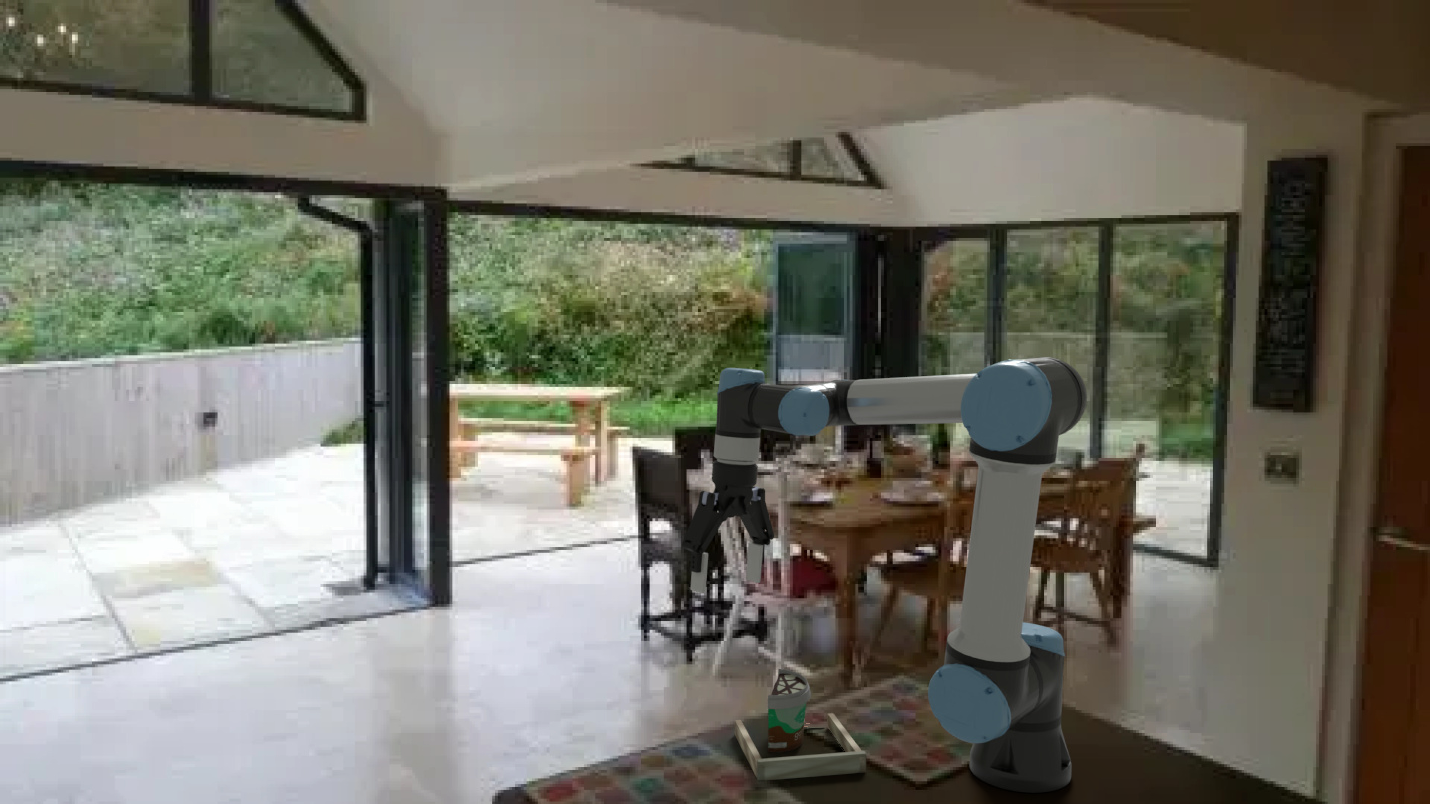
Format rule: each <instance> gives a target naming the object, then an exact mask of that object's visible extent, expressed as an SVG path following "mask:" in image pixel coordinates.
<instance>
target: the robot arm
mask: <svg viewBox="0 0 1430 804" xmlns="http://www.w3.org/2000/svg"><path fill="white" fill-rule="evenodd" d="M718 381H719V382H718V388H717V390H718V391H717V392H716V395H717V399H716V400H717V402H716V403H717V404H716V424H715V425H716V426H715V427H716V428H715V432H714V433H715V434H714V435H715V436H714V446H713V447H714V449H713V457H714V458H715V459H716V460H714V461H713V462H712V470H711V471H712V472H711V481H712V483H713V484H714V491H713V492H711V491H706V490H701V491H700V492H699V497H698V504H697V507H696V509H695V512H694V513H693V516H692V519H691V520H690V524H689V526H688V528H687V530H686V533H685V535H684V538H683V540H682V543H681V547H682V548H683V549H686V550H687V551H689V552H690V565H689V570H690V572H691V578H690V579H691V580H690V590H691V591H693V592H697V593H700V594H706V589H707V575H708V562H709V561H708V560H709V553H708V552H705V551H706V550H707V548H708V547H709V545H710V544H711V542H712V541H713V538H714V537H715V535H716V534H717V532H718V530H719V529H720V527H721V526H722V524H723V523H724V522H726V521H727V520H728V519H730V518H735V517H739V518H740V520H741V522H742V524H743V526H744V527H745V530H746V531H747V533H748V535H749V537H750V539H751V540H752V542H748V546H747V547H748V548H747V557H746V569H745V570H746V571H745V581H749V582H752V583H756V584H759V583H761V580H762V578H761V576H762V564H763V561H764V556H765V547H766V546H770V544H771V541H772V540H774V538H775V534H774V530H773V526H772V521H771V518H770V515H769V510H768V506H767V503H766V489H765V488H763V487H759V486H756V485H757V483H758V482H757V481H758V479H757V478H758V471H759V469H758V468H759V467H758V464H757V463H756V462H757V461H758V460H759V457H760V443H761V432H762V431H761V430H767V431H772V432H773V431H774V432H778V433H784V434H790V435H793V436H797V437H799V436H808V437H813V436H817V435H818V434H820V433H821V431H822V430H824V429H825V428H828V427H836V426H838V427H839V426H859V425H860V426H861V425H863V426H864V425H908V424H909V425H910V424H911V425H912V424H913V425H914V424H918V425H919V424H920V425H921V424H923V425H925V424H927V425H928V424H962V425H963V427H964V428H965V429H966V431H967V432H968V435H969V437H970V440H969V441H970V442H969V450H968V453H969V455H970V456H971V457H972V458H973V460H974V461H975V462H976V464H977V465H978V466H977V467H978V470H977V476H976V477H977V478H976V486H975V492H974V493H975V495H974V501H973V502H974V503H973V511H972V520H971V528H970V529H971V530H970V537H969V543H968V551H967V552H968V553H967V561H966V569H965V578H964V586H963V593H962V594H963V595H962V602H961V610H960V621H959V626H958V627H956V628H955V629H954V630H952V631H950V632H949V633H948V635H947V638H946V645H945V654H944V661H943V663H944V664H943V665H942V666H940V667H939V668H938V669H937V670H936V671H935V672H934V674H933V675H932V677H931V678H930V681H929V684H928V686H927V687H928V688H927V689H928V690H927V697H928V703H929V706H930V710H931V712H932V714H933V716H934V718H935V719H936V718H937V720H938V721H939V723H940V726H941V727H942V728H943V729H944V730H945V731H946V732H947V733H949V734H950V735H951V736H953V737H955V738H956V739H958V740H961V741H963V742H966V743H970V744H972V746H971V748H970V751H969V769H970V771H971V772H972V774H973V775H974V776H975V777H976V778H978V779H979V780H980V781H982V782H984V783H987V784H989V785H991V786H994V787H996V788H1000V789H1003V790H1007V791H1012V792H1019V793H1033V794H1034V793H1035V794H1036V793H1037V794H1039V793H1048V792H1054V791H1057V790H1061V789H1063V788H1064V787H1066V786H1067V785H1068V784H1069V783H1070V782H1071V779H1072V762H1071V761H1072V760H1071V757H1070V753H1069V750H1068V748H1067V747H1068V746H1067V744H1066V741H1065V737H1064V734H1063V730H1062V707H1063V705H1062V704H1063V687H1064V686H1063V685H1064V661H1065V657H1066V653H1065V650H1064V638H1063V636H1062V634H1061V633H1059V631H1057V630H1055V629H1052V628H1051V627H1047V626H1044V625H1041V624H1040V625H1039V624H1035V623H1030V622H1025V621H1024V618H1025V617H1024V616H1025V609H1026V604H1027V603H1026V601H1027V594H1028V586H1029V578H1030V570H1031V569H1030V568H1031V561H1032V554H1033V547H1034V540H1035V531H1036V525H1037V524H1036V523H1037V515H1038V509H1039V501H1040V495H1041V494H1040V493H1041V485H1042V477H1043V474H1044V473H1045V472H1046V471H1047V470H1048V469H1050V468H1051V467H1053V466H1054V465H1055V463H1056V460H1057V455H1058V454H1057V452H1058V445H1059V437H1060V436H1061V435H1063V434H1066V433H1068V432H1069V431H1070V430H1073V428H1074V427H1075V426H1077V424H1078V423H1079V422H1080V420H1082V419H1081V418H1083V415H1084V413H1085V410H1086V408H1087V401H1088V400H1087V399H1088V394H1087V393H1088V392H1087V387H1086V385H1085V382H1084V379H1083V378H1082V376H1081V374H1080V373H1079V371H1077V370H1076V369H1075V368H1074V367H1073V366H1072V365H1070V364H1069V363H1067V362H1065V361H1064V360H1062V359H1058V358H1055V357H1048V356H1041V357H1040V356H1039V357H1032V358H1023V359H1022V358H1021V359H1005V360H1002V361H999V362H995V363H994V364H992V365H991V364H990V365H988V366H987V367H984V368H982V369H981V370H979V372H977V373H963V374H960V373H959V374H946V375H945V374H944V375H941V374H940V375H924V376H923V375H922V376H907V377H906V376H905V377H904V376H903V377H889V378H888V377H887V378H886V377H885V378H867V379H856V380H855V379H835V380H831V381H830V380H829V381H824V382H816V383H815V382H813V383H806V384H804V383H803V384H797V385H781V384H772V383H771V384H770V383H766V379H765V373H764V371H763V370H758V369H751V368H742V367H741V368H740V367H726V368H724V369H723V370H721V372H720V375H719V380H718Z"/></svg>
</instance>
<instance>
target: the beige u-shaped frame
mask: <svg viewBox="0 0 1430 804" xmlns="http://www.w3.org/2000/svg"><path fill="white" fill-rule="evenodd" d="M826 719H827V721H826V724H827V725H828V727H829V728H830V730H831V731H832V733H833V734H834V735H835V736H836V738H837V739H838V741H839V742H840V744H841V745H842V747H843V749H844V750H843V749H842V750H843V751H842V752H831V753H820V754H805V755H795V756H794V755H793V756H781V757H779V756H778V757H767V758H762V756H761V755H760V753H759V751H758V749H757V748H756V745H755V744H754V742H753V740H752V738H751V736H750V734H749V732H748V730H747V728H746V727H745V725H744V723H743V721H742V720H741V719H736V720H734V735H735V738H736V740H737V741H738V744H739V745H740V748H741V750H742V752H743V754H744V756H745V757H746V759H747V761H748V763H749V766H750V768H751V769H752V771H753V773H754V775H755V777H756V779H757V781H758V780H764V781H773V780H775V781H776V780H785V779H797V778H810V777H811V778H812V777H823V776H836V775H847V774H850V775H851V774H858V773H859V774H861V773H866V772H867V753H866V751H865V750H861V748H860V746H859V745H858V744H857V743H856V742H855V740H854V738H852V736H851V734H850V733H849V732H848V731H847V729H846V728H845V727H844V725H842V723H841V722H840V720H839V719H838V717H837V716H836V715H835V713H833V712H831V713H827V717H826ZM844 751H845V752H844Z"/></svg>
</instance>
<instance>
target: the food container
mask: <svg viewBox="0 0 1430 804" xmlns="http://www.w3.org/2000/svg"><path fill="white" fill-rule="evenodd" d="M777 671H778V674H777V675H778V676H777V679H776V681H775V683H774V685H773V687H772V691H771V694H768V695H767V738H768V739H767V742H768V743H767V751H768V753H785V752H790V751H794V750H796V749H797V748H799V747H800V746H801V745H803V742H804V741H803V740H804V732H805V730H804V722H805V718H806V711H807V709H806V708H807V702H808V701H809V700H810V699H811V697H812V693H811V689H810V684H809V683H808V679H807V678H806V677H805V676H804V675H802V674H800V673H799V672H796V671H793V670H789V669H785V668H778V670H777Z"/></svg>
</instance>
